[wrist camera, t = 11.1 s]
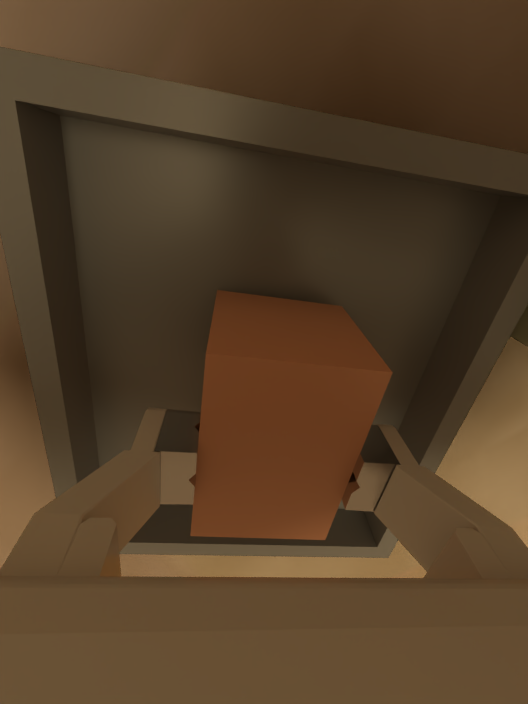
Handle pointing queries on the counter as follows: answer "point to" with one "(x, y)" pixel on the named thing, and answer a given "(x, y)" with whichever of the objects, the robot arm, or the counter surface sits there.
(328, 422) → the terracotta brick
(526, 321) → the sage brick
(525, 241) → the charcoal tray
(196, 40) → the counter surface
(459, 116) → the counter surface
